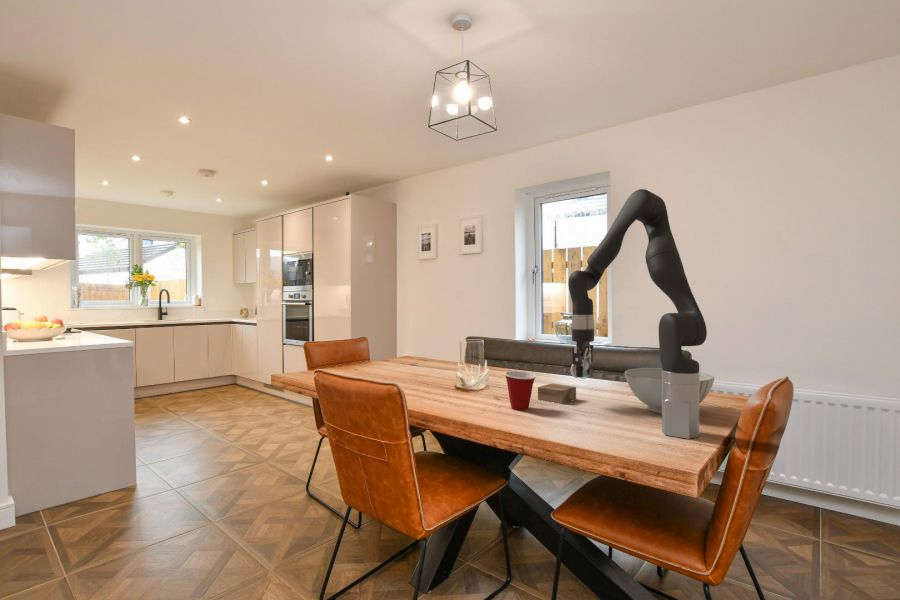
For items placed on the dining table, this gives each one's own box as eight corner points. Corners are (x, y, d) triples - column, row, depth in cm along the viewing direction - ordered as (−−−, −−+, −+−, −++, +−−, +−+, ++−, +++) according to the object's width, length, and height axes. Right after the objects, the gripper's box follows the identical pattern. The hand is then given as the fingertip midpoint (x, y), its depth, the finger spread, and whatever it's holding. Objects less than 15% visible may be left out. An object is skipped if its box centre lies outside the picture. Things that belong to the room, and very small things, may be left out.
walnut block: (561, 404, 159) (561, 390, 159) (537, 400, 166) (537, 387, 166) (576, 400, 167) (576, 386, 167) (552, 396, 174) (552, 383, 174)
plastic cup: (528, 414, 146) (528, 377, 146) (498, 409, 152) (498, 374, 152) (541, 407, 155) (541, 372, 155) (513, 403, 161) (513, 369, 161)
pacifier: (568, 377, 158) (586, 382, 157) (571, 370, 153) (589, 375, 152) (572, 359, 162) (589, 363, 160) (574, 351, 157) (592, 356, 155)
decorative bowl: (707, 426, 132) (707, 384, 132) (614, 412, 148) (614, 375, 148) (719, 408, 153) (719, 372, 153) (636, 397, 169) (636, 365, 169)
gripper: (585, 329, 150) (586, 379, 150) (600, 327, 161) (601, 374, 161) (564, 328, 155) (564, 377, 154) (580, 326, 166) (580, 372, 166)
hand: (583, 375), depth 158 cm, fingers closed on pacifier, 6 cm apart
